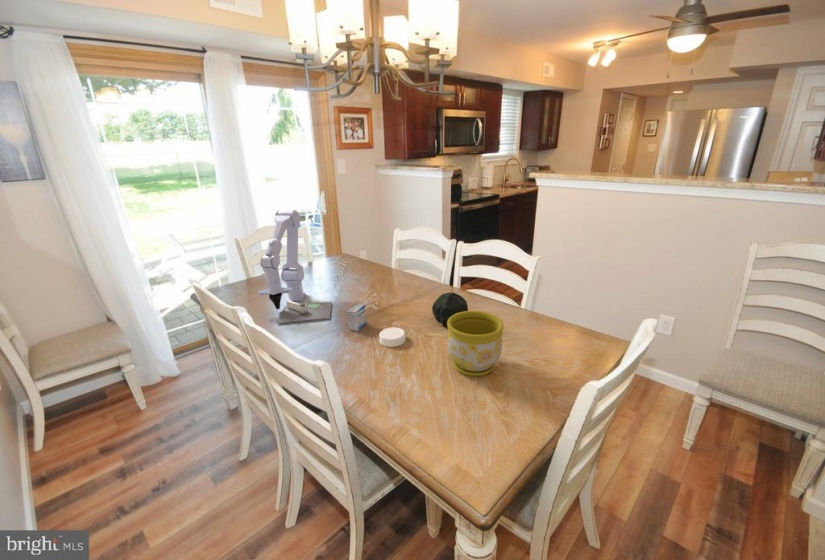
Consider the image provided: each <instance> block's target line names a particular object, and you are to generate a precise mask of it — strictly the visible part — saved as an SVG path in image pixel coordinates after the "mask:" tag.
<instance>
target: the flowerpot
mask: <svg viewBox="0 0 825 560" xmlns="http://www.w3.org/2000/svg"><path fill="white" fill-rule="evenodd" d="M446 326H447V332H448V335H447V351H448V353H449V357H450V358H451V360H452V365H453V367H455V369H456V370H457V371H458V372H460V373H461V374H463V375H466V376H469V377H481V376H486V375H488V374H489V373H491V372H492V371H493V370H494V369H495V367H496V363H497V362H498V360H499V359H500V356H501V354H502V350H503V339H502V338H503V337H502V335H503V330H504V328H505V327H504V322H503V321H502V319H501V318H500V317H499V316H496V315H494V314H493V313H490V312H486V311H480V310H479V311H478V310H468V311H464V312H459V313H456V314H454V315H452V316H451V317H450V318H449V319H448V321H447V324H446Z"/></svg>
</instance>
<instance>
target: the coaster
mask: <svg viewBox="0 0 825 560" xmlns="http://www.w3.org/2000/svg"><path fill="white" fill-rule="evenodd" d="M378 334H379V335H378V336H379V337H378V338H379V343H380V344H381V345H382V346H384V347H388V348H393V347H395V348H396V347H399V346H401V345H403V344H405V342H406V332H405V330H404V329H403V328H400V327H393V326H392V327H386V328H384V329H383V330H381V331H380V332H379V333H378Z"/></svg>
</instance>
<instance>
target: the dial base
mask: <svg viewBox="0 0 825 560" xmlns="http://www.w3.org/2000/svg"><path fill="white" fill-rule="evenodd" d="M306 304H307V308H308V312H307V313H306V314H299V311H297V310H294V309H292V308H289V307H287V305H284V306H283V309H282V310H281V313H280V315H279V319H278V321H277V325H278V324H283V325H290V324H289V323H293V324H302V323H301V322H303V323H310V322H312V321H313V322H321V321H322V322H323V321H330V320H331V314H332V301H325V302H313V303H306ZM313 322H312V323H313Z"/></svg>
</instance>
